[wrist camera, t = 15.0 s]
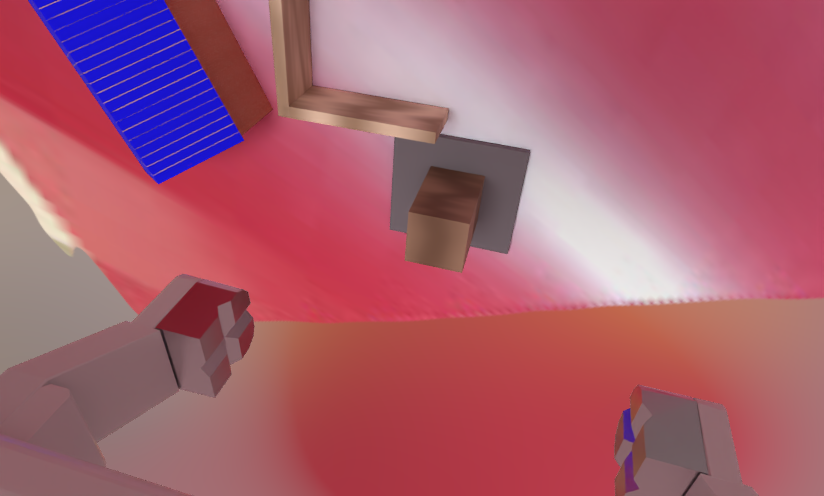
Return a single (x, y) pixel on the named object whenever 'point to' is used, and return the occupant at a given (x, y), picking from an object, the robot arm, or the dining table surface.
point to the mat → (468, 156)
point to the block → (444, 218)
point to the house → (161, 75)
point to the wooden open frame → (330, 103)
